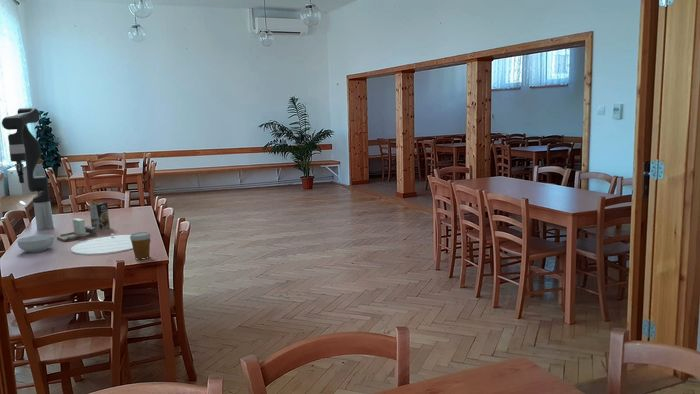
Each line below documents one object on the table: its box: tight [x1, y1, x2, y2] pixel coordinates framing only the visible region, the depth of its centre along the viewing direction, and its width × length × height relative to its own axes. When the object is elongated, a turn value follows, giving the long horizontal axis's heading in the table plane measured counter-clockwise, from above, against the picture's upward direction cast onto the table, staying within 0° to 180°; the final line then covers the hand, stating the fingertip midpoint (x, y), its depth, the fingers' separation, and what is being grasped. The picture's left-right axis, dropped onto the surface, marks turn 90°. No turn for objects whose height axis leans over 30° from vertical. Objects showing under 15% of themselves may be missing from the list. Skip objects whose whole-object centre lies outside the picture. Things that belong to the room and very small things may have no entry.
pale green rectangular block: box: [72, 218, 86, 235], centre depth 316 cm, size 3×9×8 cm, turn 47°
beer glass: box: [129, 231, 151, 259], centre depth 264 cm, size 10×10×12 cm
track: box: [56, 225, 98, 243], centre depth 315 cm, size 18×11×4 cm, turn 137°
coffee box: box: [88, 202, 111, 232], centre depth 334 cm, size 9×6×16 cm
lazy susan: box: [70, 232, 133, 256], centre depth 294 cm, size 40×39×3 cm
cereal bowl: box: [16, 234, 55, 254], centre depth 288 cm, size 17×17×7 cm
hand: (21, 182), depth 310 cm, fingers closed
